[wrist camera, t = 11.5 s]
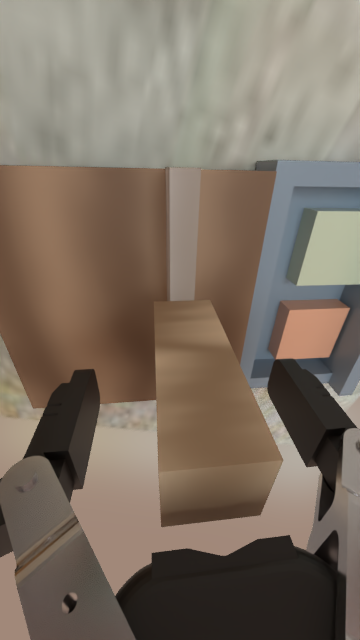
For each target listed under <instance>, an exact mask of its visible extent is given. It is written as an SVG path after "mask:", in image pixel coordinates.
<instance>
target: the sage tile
mask: <svg viewBox="0 0 360 640" xmlns="http://www.w3.org/2000/svg"><path fill="white" fill-rule="evenodd" d="M286 278H287V279H289V280H290V281H291V282H292V283H294V284H295V285H296V286H308V285H353V284H360V208H304V211H303V215H302V218H301V222H300V226H299V230H298V234H297V238H296V241H295V245H294V249H293V253H292V257H291V261H290V265H289V268H288V272H287V276H286Z"/></svg>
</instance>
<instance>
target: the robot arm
mask: <svg viewBox="0 0 360 640" xmlns="http://www.w3.org/2000/svg"><path fill="white" fill-rule="evenodd" d="M267 388H268V394H269V396H270V398H271V400H272V402H273V404H274V406H275V408H276V410H277V412H278V414H279V416H280V418H281V419H282V421H283V423H284V425H285V427H286V429H287V431H288V433H289V435H290V437H291V439H292V440H293V442H294V444H295V446H296V448H297V450H298V452H299V454H300V456H301V458H302V460H303V461H304V463H305V465H306V467H313V466H318V468H319V469H320V471H321V473H320V476H319V481H318V490H317V498H316V507H315V515H314V523H313V528H312V531H311V534H310V537H309V540H308V544H307V549H306V550H304V549H301V548H298V547H295V546H294V545H293V543H292V540H291V538H290V535H288V536H280V537H272V538H265V539H257V540H255V541H253V542H252V543H250V544H248V545H246V546H244V547H242V548H240V549H238V550H237V551H235V552H233V553H231V554H229V555H227V556H220V555H215V554H210V553H206V552H201V551H196V550H192V549H179V550H172V551H164V552H156V553H152V563H151V564H149V565H147V566H145V567H143V568H142V569H140V570H139V571H138V572H136V573H135V574H134V575H133V576H132V577H131V578H130V579H129V580H128V581H127V582H126V583H125V584H124V585H123V587H121V589H120V590H119V591H118V593H117V594H116V596H115V595H114V593H113V591H112V589H111V587H110V585H109V583H108V581H107V579H106V577H105V575H104V573H103V571H102V568H101V566H100V564H99V562H98V560H97V558H96V556H95V554H94V552H93V550H92V548H91V546H90V544H89V542H88V539H87V537H86V535H85V533H84V531H83V529H82V527H81V525H80V523H79V521H78V519H77V517H76V515H75V513H74V511H73V509H72V507H71V505H70V500H71V496H72V491H73V490H76V489H82V488H83V485H84V480H85V475H86V470H87V466H88V460H89V456H90V451H91V446H92V442H93V437H94V432H95V427H96V423H97V418H98V413H99V408H100V392H99V388H98V383H97V378H96V374H95V370H94V369H80V370H75V371H74V372H73V375H72V377H71V380H70V383H61V384H60V385H59V386H58V387H57V388H56V389H55V390H54V392H53V393H52V394H51V396H50V399H49V401H48V403H47V407H46V408H45V410H44V413H43V417H41V419H40V422H39V424H38V426H37V429H36V431H35V433H34V436H33V438H32V440H31V442H30V445H29V447H28V449H27V452H26V454H25V456H24V458H23V459H22V460H21V461H19V462H18V463H16V464H15V465H14V466H12V467H11V468H10V469H9V470H8V471H7V472H6V474H5V475H4V476H3V478H1V479H0V557H2V556H4V555H6V554H8V553H10V552H12V551H13V552H14V555H15V559H16V564H17V568H16V569H15V580H16V585H17V590H18V593H19V597H20V601H21V605H22V608H23V612H24V616H25V620H26V623H27V628H28V631H29V635H30V639H31V640H360V429H359V428H357V427H356V426H355V424H354V423H353V422H352V421H351V420H350V418H349V417H348V416H347V414H346V413H345V412H344V411H343V409H342V408H341V407H340V406H339V404H338V403H337V402H336V401H335V399H334V398H333V397H332V396H330V393H329V392H328V391H327V389H326V388H324V386H323V384H322V383H321V382H320V381H319V379H318V378H317V377H316V376H315V375H313V374H312V373H310V372H309V371H308V370H306V369H302V368H301V367H300V366H299V364H298V363H297V362H296V361H295V360H294V359H293V358H289V359H276V360H275V361H274V363H273V366H272V370H271V373H270V377H269V380H268V385H267Z"/></svg>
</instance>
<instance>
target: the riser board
mask: <svg viewBox="0 0 360 640" xmlns="http://www.w3.org/2000/svg"><path fill="white" fill-rule="evenodd" d="M276 174H277V171H245V170H201V181H200V200H199V219H198V238H197V257H196V277H195V296H194V300H210V301H211V303H212V305H213V307H214V309H215V312H216V314H217V316H218V318H219V320H220V323H221V325H222V327H223V329H224V331H225V334H226V336H227V338H228V340H229V342H230V344H231V347H232V349H233V351H234V353H235V355H236V358H237V360H238V362H239V364H240V363H241V357H242V352H243V347H244V342H245V336H246V331H247V326H248V321H249V315H250V310H251V305H252V300H253V294H254V289H255V284H256V279H257V273H258V268H259V263H260V258H261V252H262V247H263V242H264V237H265V231H266V226H267V221H268V216H269V210H270V205H271V200H272V195H273V189H274V184H275V179H276ZM159 301H167V267H166V185H165V169H150V168H103V167H55V166H8V165H0V334H1V336H2V338H3V341H4V343H5V345H6V347H7V350H8V352H9V354H10V357H11V359H12V361H13V363H14V366H15V368H16V370H17V373H18V375H19V377H20V379H21V382H22V384H23V386H24V389H25V391H26V393H27V396H28V398H29V400H30V402H31V405H32V407H33V408H46V407H47V403H48V401H49V399H50V396H51V394H52V393H53V392H54V390H55V389H56V388H57V387H58V386H59V385H60V384H61V383H70V380H71V377H72V375H73V372H74V371H75V370H80V369H94V370H95V374H96V378H97V383H98V388H99V392H100V404H104V403H118V402H133V401H147V400H156V365H155V329H154V302H159Z"/></svg>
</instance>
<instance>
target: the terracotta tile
mask: <svg viewBox="0 0 360 640" xmlns="http://www.w3.org/2000/svg"><path fill="white" fill-rule="evenodd" d="M349 310H350V308H349V307H348V306H347V305H345V304H344V303H342V302H341V301H339V300H338V299H318V300H285V301H280V304H279V308H278V312H277V316H276V320H275V324H274V328H273V331H272V335H271V339H270V343H269V347H268V350H269V351H270V353H271V354H272V356H273V357H274V359H275V360H276V359H289V358H293V359H306V358H324V357H329V356H330V354H331V351H332V349H333V347H334V344H335V342H336V340H337V337H338V335H339V333H340V330H341V328H342V326H343V323H344V321H345V319H346V317H347V314H348V312H349Z"/></svg>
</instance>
